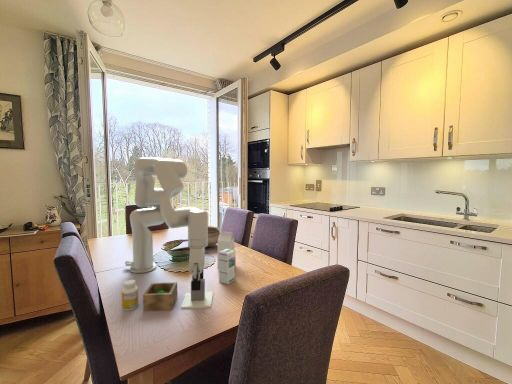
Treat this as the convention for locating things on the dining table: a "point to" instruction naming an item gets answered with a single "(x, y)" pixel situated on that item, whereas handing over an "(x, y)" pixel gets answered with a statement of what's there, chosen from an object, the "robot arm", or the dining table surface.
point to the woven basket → (212, 236)
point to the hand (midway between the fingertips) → (197, 284)
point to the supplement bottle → (129, 295)
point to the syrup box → (227, 266)
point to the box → (160, 296)
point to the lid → (198, 298)
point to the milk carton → (225, 242)
